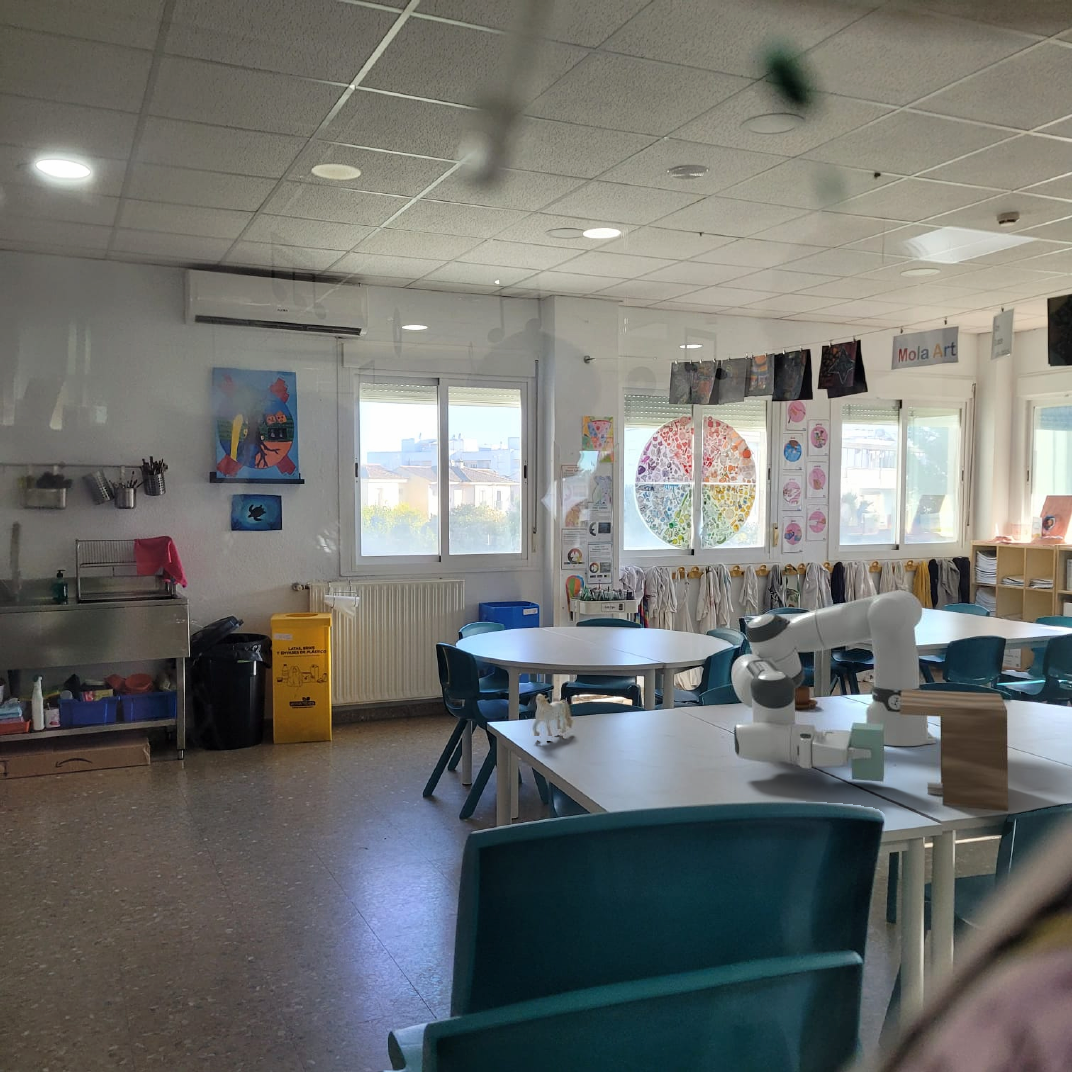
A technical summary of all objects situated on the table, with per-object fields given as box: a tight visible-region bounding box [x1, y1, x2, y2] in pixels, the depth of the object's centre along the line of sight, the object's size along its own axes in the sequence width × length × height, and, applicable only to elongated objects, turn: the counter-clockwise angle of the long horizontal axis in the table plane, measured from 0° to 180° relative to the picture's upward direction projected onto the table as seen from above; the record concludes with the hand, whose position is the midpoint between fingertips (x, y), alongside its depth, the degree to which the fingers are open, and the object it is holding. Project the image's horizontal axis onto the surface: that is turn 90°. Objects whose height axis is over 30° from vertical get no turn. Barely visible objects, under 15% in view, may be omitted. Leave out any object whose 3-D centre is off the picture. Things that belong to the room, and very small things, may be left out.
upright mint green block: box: [850, 722, 885, 782], centre depth 215 cm, size 6×6×11 cm
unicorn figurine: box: [532, 693, 574, 737], centre depth 265 cm, size 7×20×13 cm, turn 159°
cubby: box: [900, 689, 1009, 811], centre depth 209 cm, size 19×20×20 cm
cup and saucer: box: [795, 685, 818, 710], centre depth 306 cm, size 12×12×6 cm
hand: (872, 749), depth 215 cm, fingers closed on upright mint green block, 6 cm apart
